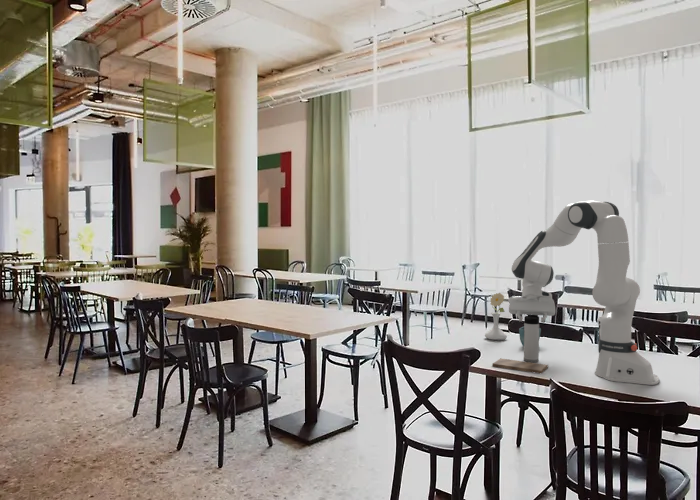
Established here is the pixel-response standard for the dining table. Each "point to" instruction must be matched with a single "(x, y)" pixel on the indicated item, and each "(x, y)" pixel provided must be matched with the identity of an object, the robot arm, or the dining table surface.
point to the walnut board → (520, 365)
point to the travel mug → (531, 338)
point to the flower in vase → (496, 319)
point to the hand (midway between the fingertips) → (531, 321)
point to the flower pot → (521, 333)
